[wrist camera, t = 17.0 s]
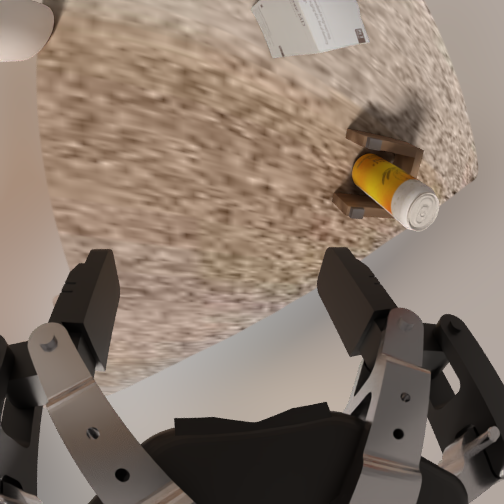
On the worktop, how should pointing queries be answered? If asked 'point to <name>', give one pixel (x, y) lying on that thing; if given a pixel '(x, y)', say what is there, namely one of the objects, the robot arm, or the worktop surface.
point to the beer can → (396, 192)
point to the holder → (404, 159)
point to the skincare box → (309, 25)
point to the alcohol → (23, 29)
